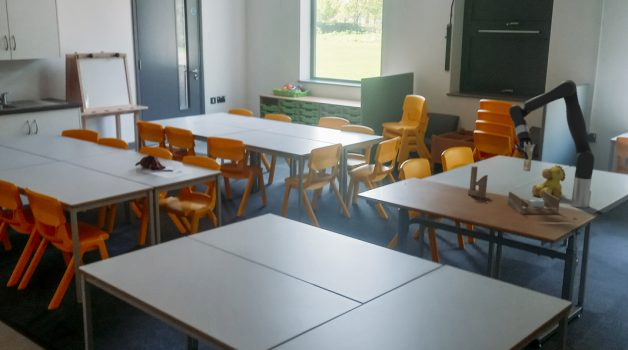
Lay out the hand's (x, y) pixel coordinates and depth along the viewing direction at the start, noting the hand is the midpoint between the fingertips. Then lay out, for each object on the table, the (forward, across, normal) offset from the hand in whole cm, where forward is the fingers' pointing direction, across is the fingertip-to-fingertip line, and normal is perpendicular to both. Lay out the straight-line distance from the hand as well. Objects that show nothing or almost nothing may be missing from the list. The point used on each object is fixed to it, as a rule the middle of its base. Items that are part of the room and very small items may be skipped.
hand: (529, 159), depth 379 cm
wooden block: (+4, -20, +36) cm, 42 cm away
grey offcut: (+27, 0, +6) cm, 28 cm away
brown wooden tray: (+27, 0, +12) cm, 30 cm away
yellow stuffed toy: (+3, +27, +37) cm, 45 cm away
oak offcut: (+29, 0, +9) cm, 31 cm away
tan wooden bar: (+4, 0, +7) cm, 8 cm away
